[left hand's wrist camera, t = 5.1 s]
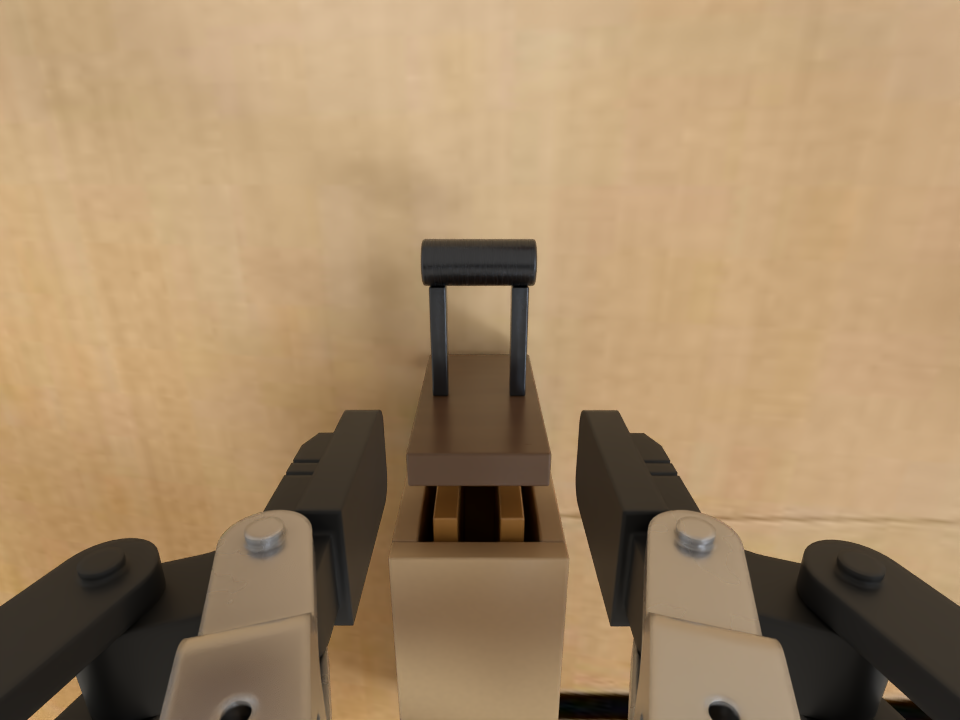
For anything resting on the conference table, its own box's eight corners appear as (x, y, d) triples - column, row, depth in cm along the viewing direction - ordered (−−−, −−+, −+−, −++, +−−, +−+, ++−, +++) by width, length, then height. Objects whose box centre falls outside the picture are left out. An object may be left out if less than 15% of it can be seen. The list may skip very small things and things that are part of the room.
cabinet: (420, 408, 28) (387, 558, 18) (537, 408, 28) (570, 558, 18) (432, 696, 35) (413, 918, 25) (526, 696, 35) (544, 918, 25)
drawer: (425, 222, 23) (395, 266, 15) (533, 222, 23) (561, 266, 15) (440, 656, 32) (426, 831, 24) (518, 656, 32) (531, 831, 24)
